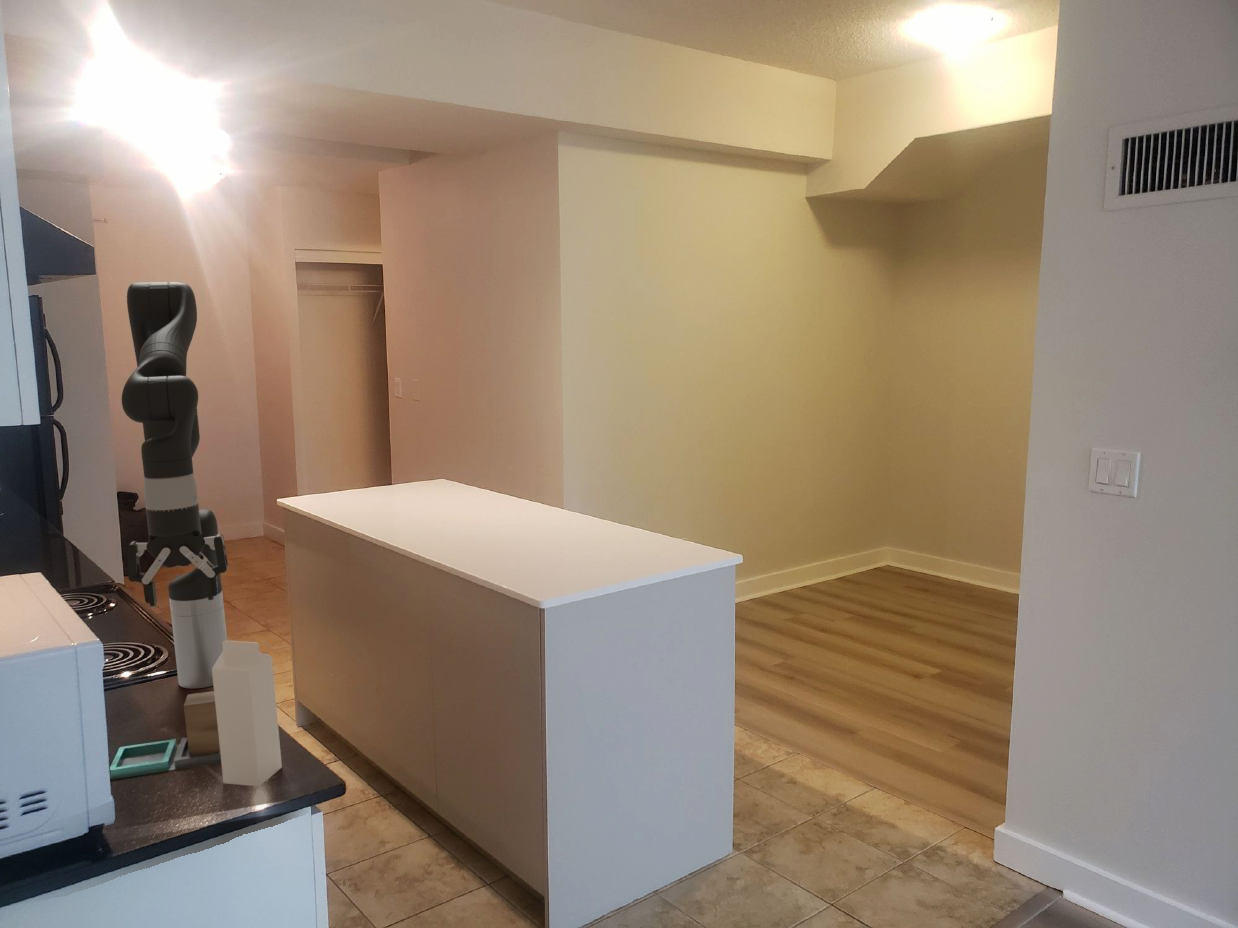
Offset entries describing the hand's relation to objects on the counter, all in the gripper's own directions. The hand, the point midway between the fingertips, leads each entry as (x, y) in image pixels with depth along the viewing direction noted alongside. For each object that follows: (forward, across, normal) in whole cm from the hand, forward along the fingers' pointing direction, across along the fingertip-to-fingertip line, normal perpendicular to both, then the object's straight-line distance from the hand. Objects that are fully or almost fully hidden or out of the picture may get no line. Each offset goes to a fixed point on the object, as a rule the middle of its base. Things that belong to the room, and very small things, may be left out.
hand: (182, 601), depth 149 cm
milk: (+24, -10, +18) cm, 32 cm away
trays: (+24, +2, +8) cm, 25 cm away
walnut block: (+23, -2, +8) cm, 24 cm away
